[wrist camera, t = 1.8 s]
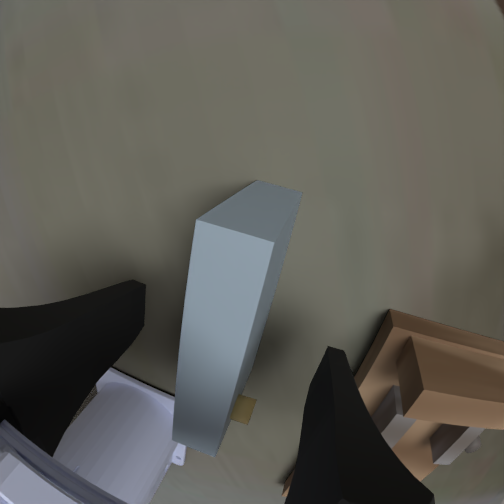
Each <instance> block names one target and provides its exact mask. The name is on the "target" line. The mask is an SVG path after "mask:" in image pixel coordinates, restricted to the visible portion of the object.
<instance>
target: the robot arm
mask: <svg viewBox="0 0 504 504" xmlns="http://www.w3.org/2000/svg"><path fill="white" fill-rule="evenodd" d="M145 289H146V285H145V284H143V283H140V282H138V281H135V280H129V281H126V282H122V283H119V284H116V285H113V286H110V287H107V288H104V289H101V290H98V291H95V292H92V293H89V294H86V295H82V296H79V297H75V298H72V299H68V300H64V301H60V302H55V303H50V304H45V305H38V306H29V307H19V308H0V504H149V503H150V501H151V499H152V497H153V496H154V494H155V492H156V490H157V488H158V487H159V485H160V483H161V481H162V479H163V477H164V476H165V474H166V472H167V470H168V468H169V466H170V465H171V463H175V464H177V465H183V464H184V462H185V456H186V448H187V446H185V445H182V444H180V443H177V442H175V441H173V440H172V429H173V415H174V401H175V397H173V396H171V395H169V394H166V393H164V392H162V391H160V390H157V389H155V388H153V387H151V386H148V385H146V384H144V383H142V382H140V381H138V380H136V379H133V378H131V377H129V376H127V375H125V374H123V373H121V372H119V371H117V370H115V369H113V368H111V366H112V365H113V364H114V363H115V362H116V361H117V360H118V359H119V358H120V356H121V355H122V354H123V353H124V352H125V351H126V350H127V349H128V348H129V346H130V345H131V344H132V343H133V341H134V340H135V339H136V337H137V336H138V334H139V333H140V331H141V330H142V328H143V327H144V314H145ZM95 384H96V387H97V393H98V394H97V395H96V396H95V397H94V398H93V399H92V401H91V402H90V403H89V404H88V405H87V406H86V407H85V409H84V410H83V411H82V412H81V413H80V415H79V416H78V417H77V418H76V419H75V420H74V422H73V423H72V424H71V425H70V426H69V424H70V422H71V421H72V419H73V417H74V416H75V414H76V412H77V411H78V409H79V408H80V406H81V404H82V403H83V401H84V400H85V398H86V397H87V396H88V394H89V393H90V391H91V390H92V388H93V387H94V386H95ZM68 426H69V427H68ZM67 428H68V429H67ZM66 429H67V430H66ZM285 504H435V500H434V494H433V493H432V492H431V491H430V490H429V489H428V488H427V487H425V486H424V485H423V484H422V483H421V482H420V481H419V480H418V479H417V478H416V477H415V476H414V475H413V474H412V473H411V472H410V471H409V470H408V469H407V468H406V466H405V465H404V464H403V463H402V462H401V461H400V459H399V458H398V457H397V456H396V454H395V453H394V452H393V450H392V449H391V448H390V446H389V445H388V444H387V442H386V441H385V439H384V438H383V436H382V435H381V433H380V431H379V430H378V428H377V426H376V425H375V423H374V421H373V420H372V418H371V416H370V414H369V412H368V410H367V408H366V406H365V403H364V401H363V399H362V397H361V394H360V392H359V390H358V387H357V385H356V382H355V380H354V377H353V374H352V371H351V369H350V366H349V363H348V360H347V357H346V354H345V352H344V351H343V350H340V349H336V348H333V347H329V346H328V347H327V350H326V352H325V354H324V356H323V358H322V360H321V363H320V365H319V367H318V369H317V371H316V373H315V375H314V377H313V379H312V381H311V383H310V387H309V391H308V395H307V399H306V403H305V407H304V414H303V422H302V429H301V437H300V444H299V451H298V457H297V462H296V467H295V470H294V474H293V478H292V481H291V485H290V488H289V491H288V494H287V497H286V501H285Z"/></svg>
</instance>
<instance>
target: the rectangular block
mask: <svg viewBox="0 0 504 504" xmlns="http://www.w3.org/2000/svg"><path fill="white" fill-rule="evenodd" d="M301 196H302V192H299V191H295V190H292V189H288V188H285V187H281V186H278V185H274V184H270V183H266V182H263V181H259V180H256V181H255V182H253V183H252V184H250V185H249V186H247V187H245V188H244V189H242V190H241V191H239V192H238V193H236V194H234V195H233V196H231V197H230V198H228V199H227V200H225V201H224V202H222V203H221V204H219V205H217V206H216V207H214V208H213V209H211V210H210V211H208V212H207V213H205V214H204V215H202V216H201V217H199V218H198V219H196V225H195V231H194V238H193V244H192V251H191V258H190V265H189V272H188V280H187V287H186V295H185V303H184V311H183V320H182V328H181V337H180V347H179V357H178V367H177V378H176V389H175V401H174V415H173V429H172V440H173V441H175V442H177V443H180V444H182V445H185V446H187V447H190V448H192V449H195V450H197V451H200V452H203V453H205V454H208V455H211V456H213V457H215V456H216V454H217V452H218V449H219V447H220V445H221V442H222V440H223V438H224V435H225V433H226V430H227V428H228V426H229V423H230V421H231V419H232V420H235V421H238V422H241V423H244V424H247V425H248V422H249V420H250V417H251V414H252V411H253V409H254V406H255V403H256V399H253V398H249V397H246V396H243V395H241V394H242V392H243V389H244V387H245V384H246V382H247V379H248V377H249V374H250V372H251V369H252V367H253V364H254V360H255V357H256V354H257V351H258V347H259V344H260V341H261V337H262V334H263V331H264V327H265V324H266V321H267V317H268V314H269V311H270V307H271V304H272V300H273V297H274V293H275V290H276V287H277V283H278V280H279V276H280V273H281V269H282V266H283V262H284V259H285V255H286V251H287V248H288V244H289V241H290V237H291V233H292V230H293V226H294V222H295V219H296V215H297V211H298V208H299V204H300V200H301Z"/></svg>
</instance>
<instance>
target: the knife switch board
mask: <svg viewBox="0 0 504 504" xmlns="http://www.w3.org/2000/svg"><path fill="white" fill-rule="evenodd" d="M354 380H355V382H356V385H357V387H358V390H359V392H360V394H361V397H362V399H363V401H364V403H365V406H366V408H367V410H368V412H369V414H370V416H371V418H372V420H373V421H374V423H375V425H376V426H377V428H378V430H379V431H380V433H381V435H382V436H383V438H384V439H385V441H386V442H387V444H388V445H389V446H390V448H391V449H392V450H393V452H394V453H395V454H396V456H397V457H398V458H399V459H400V461H401V462H402V463H403V464H404V465H405V466H406V468H407V469H408V470H409V471H410V472H411V473H412V474H413V475H414V476H415V477H416V478H417V479H418V480H419V481H421V480H422V479H424V478H425V477H426V476H427V475H428V474H429V473H431V472H432V471H433V470H434V469H435V468H436V467H437V466H438V465H439V464H444V465H449V464H450V463H451V462H452V461H453V460H454V459H455V458H457V457H458V456H459V455H460V454H461V453H462V452H463V451H464V450H465V452H467V453H471V452H474V451H476V450H477V449H479V448H480V447H481V441H480V437H479V435H480V433H481V432H482V431H483V430H484V429H485V428H489V429H502V430H504V342H503V341H500V340H496V339H492V338H489V337H485V336H482V335H478V334H475V333H471V332H468V331H464V330H461V329H457V328H454V327H450V326H447V325H443V324H440V323H436V322H433V321H429V320H426V319H422V318H419V317H415V316H412V315H409V314H405V313H402V312H398V311H395V310H392V309H389V312H388V314H387V316H386V318H385V320H384V322H383V324H382V326H381V328H380V330H379V332H378V334H377V336H376V338H375V340H374V342H373V344H372V346H371V348H370V349H369V351H368V353H367V355H366V357H365V359H364V361H363V362H362V364H361V366H360V368H359V370H358V371H357V373H356V375H355V377H354ZM294 470H295V469H294ZM293 474H294V471H293V472H292V473H291V475H290V476H289V477H288V479H287V480H286V481H285V485H284V489H283V493H282V496H285V497H287V494H288V491H289V488H290V485H291V481H292V478H293Z"/></svg>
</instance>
